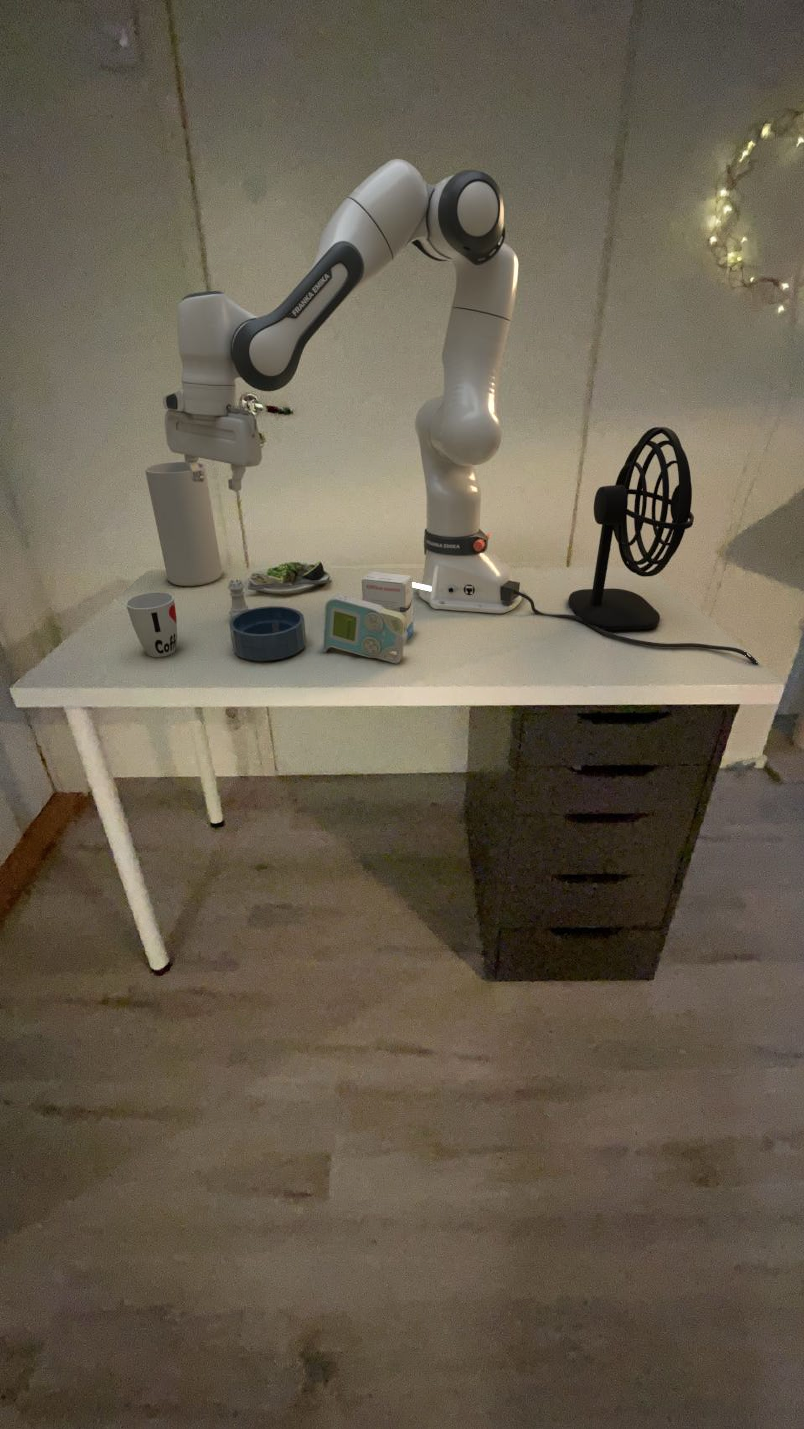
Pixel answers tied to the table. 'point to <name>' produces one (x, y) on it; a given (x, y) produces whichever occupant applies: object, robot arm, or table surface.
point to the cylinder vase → (184, 524)
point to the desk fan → (636, 536)
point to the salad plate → (289, 578)
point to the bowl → (268, 633)
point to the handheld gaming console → (364, 628)
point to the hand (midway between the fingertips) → (216, 485)
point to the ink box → (390, 594)
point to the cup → (154, 622)
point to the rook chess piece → (237, 598)
